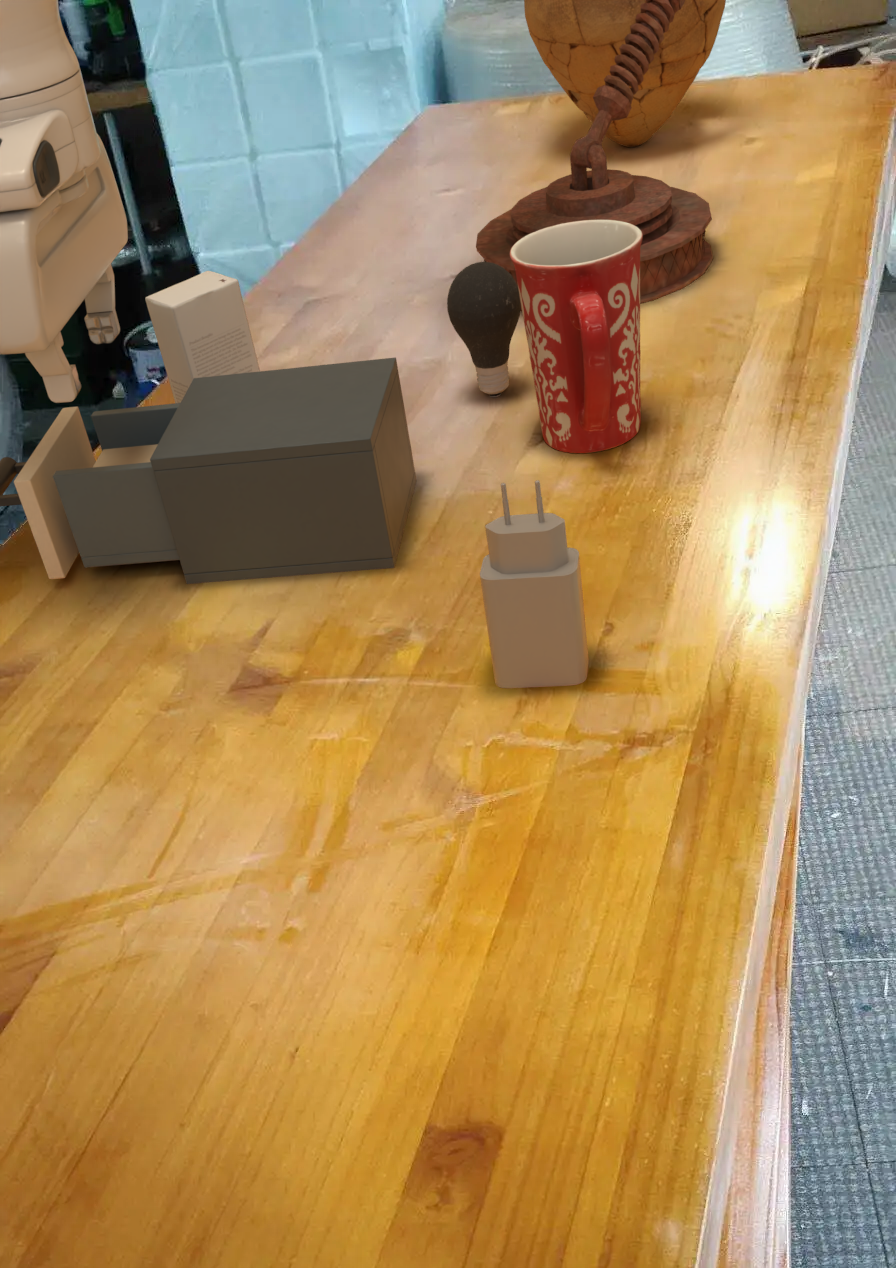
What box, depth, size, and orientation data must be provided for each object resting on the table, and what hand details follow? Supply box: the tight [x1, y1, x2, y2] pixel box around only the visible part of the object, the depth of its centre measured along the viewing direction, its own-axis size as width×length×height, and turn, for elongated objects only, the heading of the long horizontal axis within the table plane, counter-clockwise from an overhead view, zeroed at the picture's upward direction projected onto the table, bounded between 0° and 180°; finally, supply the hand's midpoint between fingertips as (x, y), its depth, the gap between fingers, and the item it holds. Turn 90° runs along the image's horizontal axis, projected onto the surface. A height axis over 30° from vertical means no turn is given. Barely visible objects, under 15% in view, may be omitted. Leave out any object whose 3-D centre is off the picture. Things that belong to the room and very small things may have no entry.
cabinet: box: [150, 357, 417, 585], centre depth 101 cm, size 15×13×9 cm
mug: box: [510, 220, 643, 454], centre depth 103 cm, size 13×9×14 cm
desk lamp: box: [475, 0, 714, 312], centre depth 118 cm, size 21×32×40 cm, turn 132°
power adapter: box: [479, 479, 590, 689], centre depth 82 cm, size 3×5×12 cm, turn 82°
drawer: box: [0, 402, 180, 580], centre depth 103 cm, size 18×11×7 cm, turn 84°
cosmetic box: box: [144, 270, 261, 403], centre depth 113 cm, size 6×4×12 cm
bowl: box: [523, 0, 727, 148], centre depth 151 cm, size 21×20×20 cm
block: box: [92, 444, 158, 468], centre depth 103 cm, size 4×4×4 cm
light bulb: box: [446, 261, 522, 398], centre depth 112 cm, size 6×6×10 cm
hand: (87, 367), depth 97 cm, fingers open, 8 cm apart
